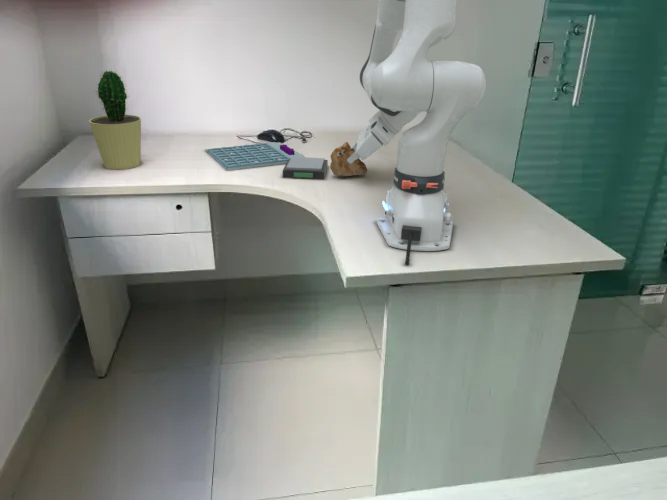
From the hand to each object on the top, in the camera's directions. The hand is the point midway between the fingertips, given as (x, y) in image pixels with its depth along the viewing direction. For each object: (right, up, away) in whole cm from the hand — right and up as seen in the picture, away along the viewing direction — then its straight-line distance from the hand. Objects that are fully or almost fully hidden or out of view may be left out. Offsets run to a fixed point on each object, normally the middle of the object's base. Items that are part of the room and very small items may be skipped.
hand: (349, 157), depth 164 cm
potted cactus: (-75, -1, +9) cm, 75 cm away
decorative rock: (0, -6, +1) cm, 6 cm away
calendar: (-33, +4, +22) cm, 40 cm away
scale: (-14, -4, +6) cm, 16 cm away
